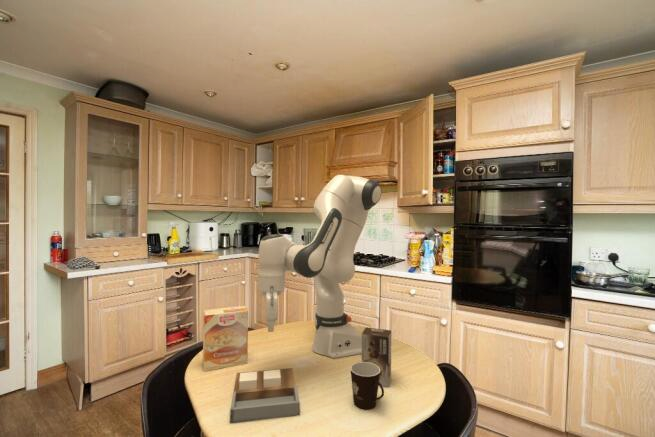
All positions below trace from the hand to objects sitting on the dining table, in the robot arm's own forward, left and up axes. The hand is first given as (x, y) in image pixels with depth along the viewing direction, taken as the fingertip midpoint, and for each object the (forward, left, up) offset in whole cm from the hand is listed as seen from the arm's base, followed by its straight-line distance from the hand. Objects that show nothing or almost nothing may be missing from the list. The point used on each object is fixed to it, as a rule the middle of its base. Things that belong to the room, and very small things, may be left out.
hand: (270, 325), depth 103 cm
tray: (+2, +16, -18) cm, 24 cm away
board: (+2, +6, -18) cm, 19 cm away
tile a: (0, +8, -13) cm, 15 cm away
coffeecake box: (+16, -14, -18) cm, 28 cm away
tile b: (+7, +8, -13) cm, 17 cm away
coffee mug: (-26, +20, -18) cm, 37 cm away
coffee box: (-34, +7, -18) cm, 39 cm away
